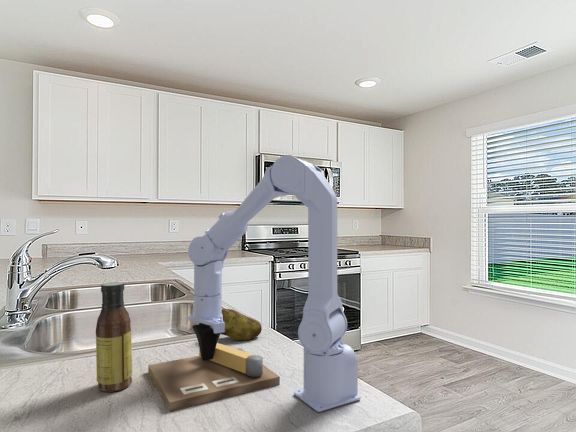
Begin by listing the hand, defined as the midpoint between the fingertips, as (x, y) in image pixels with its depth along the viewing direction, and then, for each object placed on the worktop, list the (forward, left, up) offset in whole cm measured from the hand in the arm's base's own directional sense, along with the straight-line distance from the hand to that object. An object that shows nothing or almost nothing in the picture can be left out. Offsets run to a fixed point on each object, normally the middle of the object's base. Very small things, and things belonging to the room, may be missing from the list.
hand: (207, 359), depth 79 cm
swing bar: (-4, +3, -1) cm, 5 cm away
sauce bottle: (+18, -3, -3) cm, 18 cm away
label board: (0, +3, -3) cm, 4 cm away
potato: (-14, -19, -3) cm, 24 cm away
